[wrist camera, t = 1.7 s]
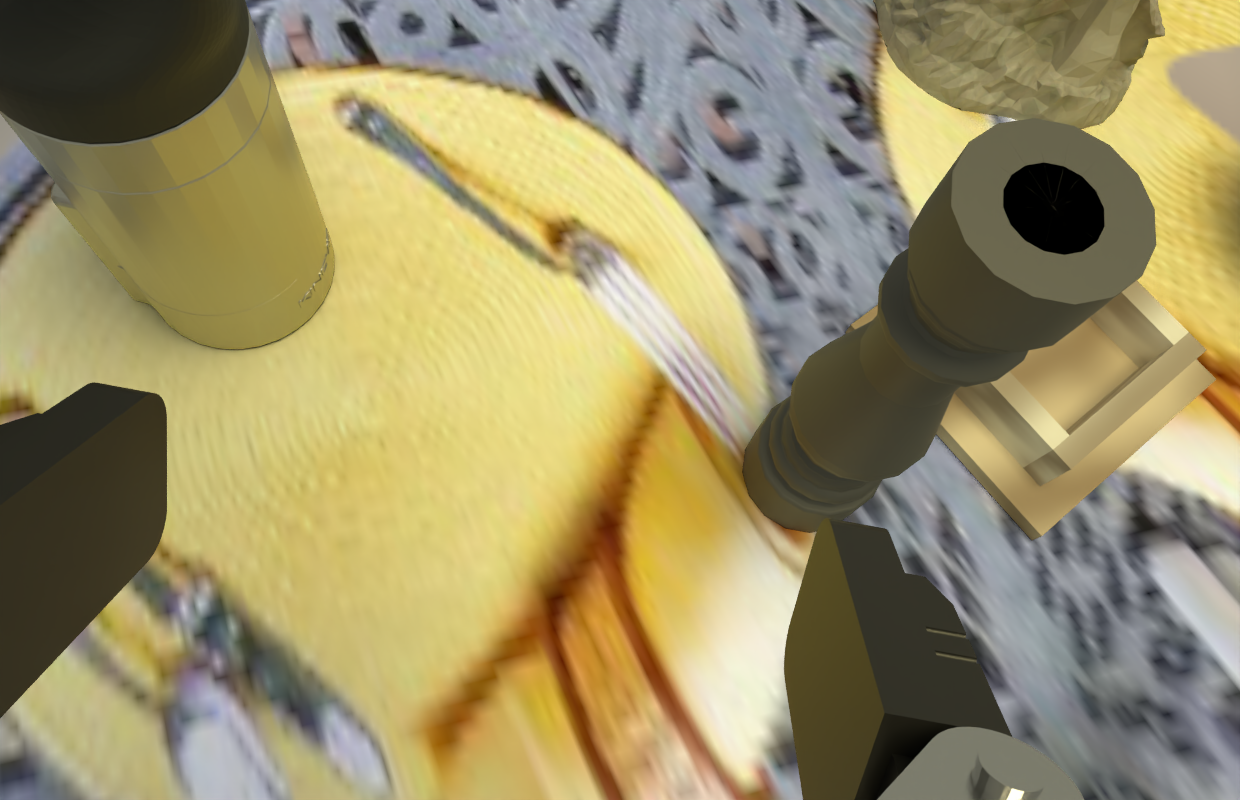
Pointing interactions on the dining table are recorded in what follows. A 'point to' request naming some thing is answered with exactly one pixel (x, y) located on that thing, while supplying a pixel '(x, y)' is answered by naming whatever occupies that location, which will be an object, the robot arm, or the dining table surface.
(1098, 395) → the socket base
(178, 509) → the dining table surface
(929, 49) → the ceramic cottage
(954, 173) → the candle holder
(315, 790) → the dining table surface
